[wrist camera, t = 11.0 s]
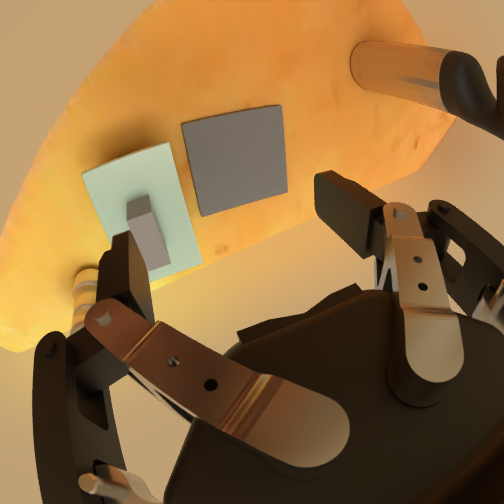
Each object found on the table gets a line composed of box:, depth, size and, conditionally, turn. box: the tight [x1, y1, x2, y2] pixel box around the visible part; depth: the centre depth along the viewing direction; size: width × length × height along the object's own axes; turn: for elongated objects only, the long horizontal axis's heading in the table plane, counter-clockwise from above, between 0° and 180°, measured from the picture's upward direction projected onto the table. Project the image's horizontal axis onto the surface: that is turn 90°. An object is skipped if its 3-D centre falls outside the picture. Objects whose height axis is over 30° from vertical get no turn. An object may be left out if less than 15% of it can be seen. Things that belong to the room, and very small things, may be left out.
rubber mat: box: [181, 105, 288, 217], centre depth 39 cm, size 14×14×1 cm
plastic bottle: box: [69, 268, 99, 336], centre depth 33 cm, size 6×7×20 cm
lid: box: [81, 141, 203, 282], centre depth 27 cm, size 9×15×5 cm, turn 8°
